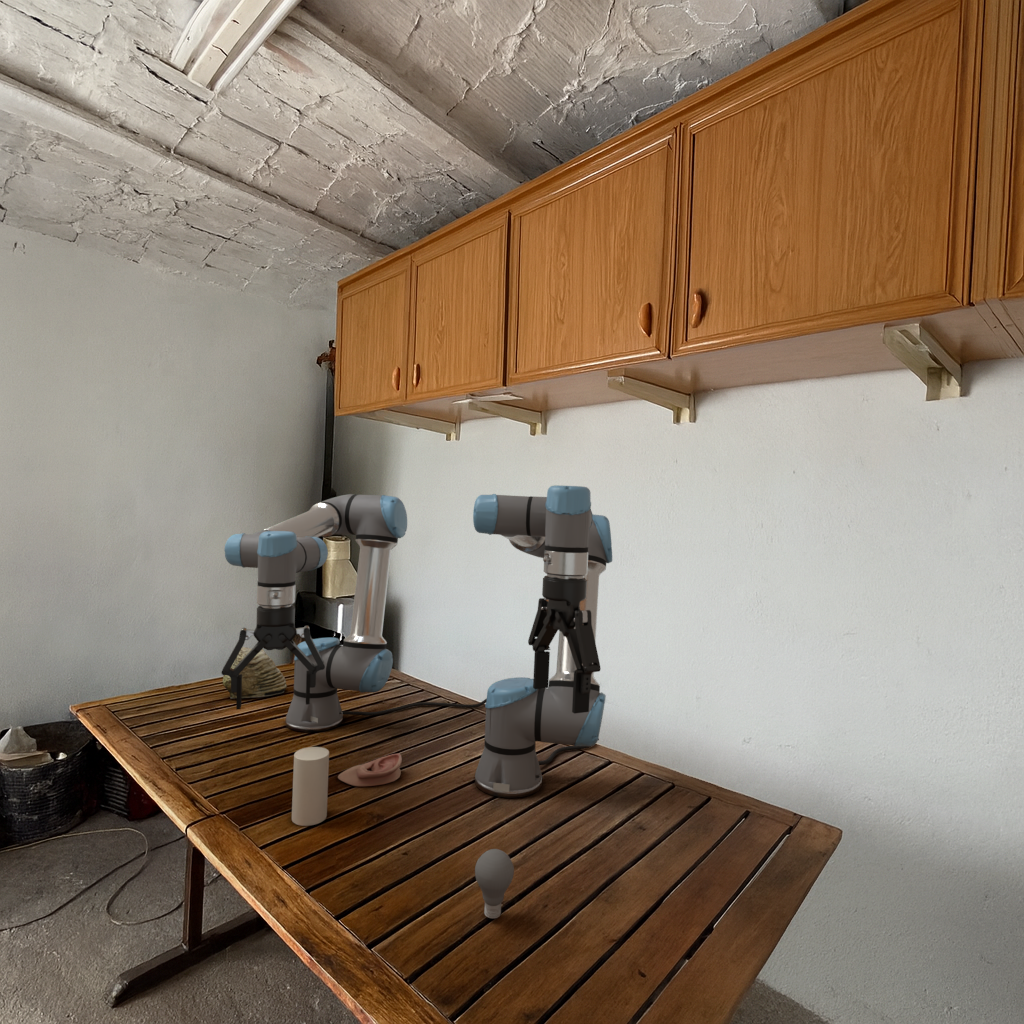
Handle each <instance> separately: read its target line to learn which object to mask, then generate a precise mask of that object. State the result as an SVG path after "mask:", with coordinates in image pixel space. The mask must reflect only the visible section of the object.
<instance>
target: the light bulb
mask: <svg viewBox="0 0 1024 1024" xmlns="http://www.w3.org/2000/svg"><path fill="white" fill-rule="evenodd" d="M514 874H515V867H514V863H513V861H512V859H511V857H510V856H509V855H508V854H507V853H506V852H505V851H503V850H501V849H498V848H491V849H487V850H486V851H484V852H483V853H482V854H481V855H480V856H479V857H478V859H477V861H476V863H475V867H474V876H475V880H476V882H477V884H478V886H479V888H480V890H481V893H482V899H483V901H484V910H483V911H484V912H483V914H484V916H485V917H487V918H489V919H498V918H499V917H501V914H502V903H503V901H504V898H505V893H506V891H507V890H508V888H509V887H510V885H511V883H512V882H513V879H514V876H515V875H514Z"/></svg>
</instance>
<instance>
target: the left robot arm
mask: <svg viewBox="0 0 1024 1024" xmlns="http://www.w3.org/2000/svg"><path fill="white" fill-rule="evenodd" d="M407 530H408V513H407V510H406V507H405V504H404V501H402V499H400V497H397V496H393V495H385V494H356V493H349V494H343V495H338V496H335V497H330V498H328V499H325V500H321V501H320V502H317V503H315V504H313V505H312V506H310V509H309V510H308V511H305V512H303V513H300V514H298V515H295V516H293V517H291V518H288V519H286V520H283V521H281V522H279V523H276V524H273V525H271V526H268V527H266V528H263V529H261V530H258V531H256V532H253V533H244V532H242V533H234V534H231V535H230V536H229V537H228V538H227V540H226V542H225V545H224V548H223V549H224V557H225V560H226V561H227V563H228V564H230V565H231V566H234V567H240V568H241V567H242V568H243V569H245V568H253V569H257V585H256V604H257V607H256V626H255V628H254V629H249V628H247V627H242V628H241V629H240V631H239V635H238V641H237V642H236V643H235V646H234V648H233V650H232V651H231V653H230V655H229V656H228V659H227V660H226V662H225V664H224V665H223V667H222V670H221V675H222V676H223V675H227V676H230V677H231V692H232V693H235V692H237V698H236V706H235V707H236V711H237V710H241V708H242V701H243V698H242V674H240V672H241V671H242V670H243V669H244V668H245V667H246V666H247V665H248V664H249V662H250V661H251V660H252V659H253V658H254V657H255V656H256V655H257V654H258V653H259V652H260V651H261V650H262V649H263V650H266V651H273V650H277V651H283V650H284V649H288V650H289V651H290V652H291V653H292V654H293V656H294V659H293V661H294V672H293V695H292V696H293V697H292V699H291V702H290V704H289V708H288V711H287V713H286V715H285V726H286V728H287V729H289V730H291V731H294V732H295V731H296V732H301V733H316V732H325V731H329V730H332V729H335V728H337V727H339V726H340V725H342V723H343V722H344V715H345V716H367V717H368V716H380V715H386V714H389V713H392V712H393V713H394V712H397V711H402V710H405V709H409V708H414V707H423V706H436V707H452V708H453V707H454V708H465V709H474V708H480V707H481V706H484V705H485V704H486V700H487V698H485V699H484V700H482V701H481V702H478V703H474V704H465V703H453V702H437V701H436V702H432V701H422V702H414V703H413V702H412V703H409V704H404V705H400V706H397V707H392V708H388V709H383V710H379V711H355V710H351V711H349V710H347V711H346V710H343V709H342V706H341V702H340V699H339V695H338V690H344V691H345V690H346V691H354V692H359V693H378V692H379V691H381V690H382V689H383V688H384V687H385V685H386V684H387V682H388V680H389V678H390V675H391V673H392V669H393V664H394V658H393V652H392V651H391V650H389V649H387V645H388V644H387V643H388V642H387V640H386V639H385V638H384V637H383V630H384V621H385V620H384V619H385V610H386V603H387V593H388V583H389V574H390V566H391V565H390V564H391V555H392V551H393V549H394V548H395V547H397V546H398V541H399V539H402V538H403V537H404V536H405V535H406V532H407ZM333 535H352V536H355V542H356V543H357V545H358V546H359V548H360V549H359V555H358V565H357V572H356V581H355V590H354V596H353V597H354V598H353V605H352V607H353V608H352V614H351V615H352V616H351V624H350V631H349V632H350V633H349V634H348V635H347V636H346V637H345V638H344V639H343V644H340V643H341V641H340V639H339V638H338V637H318V638H312V636H311V630H310V626H309V625H304V627H296V625H295V622H296V621H295V620H296V619H295V618H296V617H295V616H296V606H295V605H294V604H295V603H296V586H297V585H296V578H297V577H296V575H297V574H298V573H299V574H300V573H302V572H303V573H304V572H308V571H310V572H312V571H314V570H315V569H319V568H320V567H322V566H323V565H325V563H326V561H327V560H328V556H329V550H328V546H327V544H326V542H325V541H324V540H323V539H322V538H320V537H323V538H327V537H331V536H333ZM297 635H299V636H300V638H302V639H304V641H302V642H299V643H298V644H297V643H296V642H295V641H294V638H296V636H297ZM252 637H254V638H255V639H256V641H257V643H255V645H254V646H253V647H252V648H251V649H252V650H251V651H250V652H249V653H248V654H247V655H246V656H245V657H244V658H243V659H242V661H241V662H240V663H239V664H238V665H237V666H236V667H235V668H234V669H232V668H231V666H232V665H233V663H234V661H235V659H236V657H237V656H238V654H239V652H240V650H241V648H242V647H244V645H245V642H246V641H249V640H250V639H251V638H252Z"/></svg>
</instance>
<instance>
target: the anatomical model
mask: <svg viewBox="0 0 1024 1024" xmlns="http://www.w3.org/2000/svg"><path fill="white" fill-rule="evenodd" d="M402 761H403V757H402V754H400V753H393V754H389V755H385V756H382V757H378V758H376V759H373V760H371V761H368V762H364V763H362V764H358V765H354V766H352V767H349V768H347V769H346V770H344V771H342V772H340V773H339V774H338V776H337V779H338V780H339V781H341V782H343V783H345V784H346V785H349V786H350V785H351V786H353V787H372V786H380V785H385V784H390V783H393V782H395V781H397V780H398V779H399V778H400V776H401V775H402V773H401V772H402V771H401V768H400V767H401V765H402Z"/></svg>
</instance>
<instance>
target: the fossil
mask: <svg viewBox="0 0 1024 1024" xmlns="http://www.w3.org/2000/svg"><path fill="white" fill-rule="evenodd" d="M251 650H252V648H251V647H247V646H246V647H245V646H243V647H242V648H241V650H240V652H239V654H238V656H237V657H236V659H235V661H234V663H233V665H232V666H231V668H232V669H234V668H235V667H236V666H237V665H238V664H239V663H240V662H241V661H242V659H243V658H244V657H245V656H246V655H247V654H248V653H249V652H250V651H251ZM240 674H242V699H250V698H264V697H271V696H275V695H281V694H284V693H285V691H286V689H287V687H288V686H287V680H286V678H285V676H284V674H283V673H282V672H281V669H279V668H278V667H277V665H276V663H275V662H274V660H273V659H272V658H271V657H270V656H269V655H268V654H267V653H266V652H265V649H264V648H263V649H262V650H261V651H260V652H259V653H258V654H257V655H256V656H255V657H254V658H253V659H252V660H251V661H250V662H249V664H248V665H247V666H246V667H245V668H244V669H243V670H242V671H241V672H240ZM222 676H223V677H222V685H223V687H224V688H225V690H226V691H228V693H229V698H230V699H237V692H235V693H232V692H231V677H230V676H227V675H222Z"/></svg>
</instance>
